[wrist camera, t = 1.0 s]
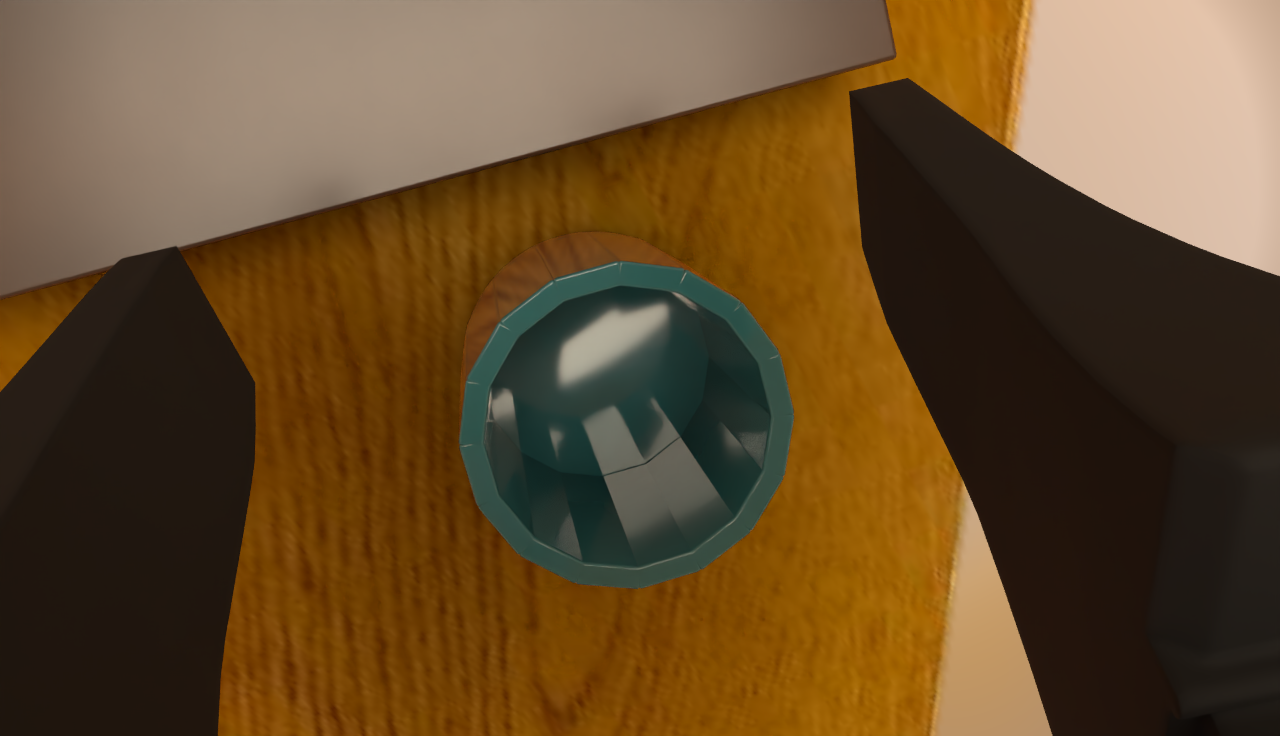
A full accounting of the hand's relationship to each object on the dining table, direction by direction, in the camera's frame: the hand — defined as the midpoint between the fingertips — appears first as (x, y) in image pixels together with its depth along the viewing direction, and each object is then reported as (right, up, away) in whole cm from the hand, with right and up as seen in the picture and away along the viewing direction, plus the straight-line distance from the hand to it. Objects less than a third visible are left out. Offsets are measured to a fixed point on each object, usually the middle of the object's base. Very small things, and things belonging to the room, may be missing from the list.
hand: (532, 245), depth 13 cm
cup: (0, -1, +13) cm, 13 cm away
